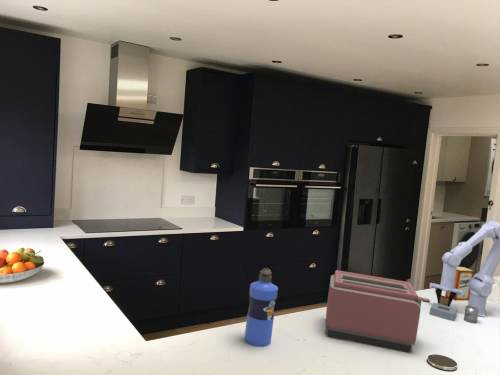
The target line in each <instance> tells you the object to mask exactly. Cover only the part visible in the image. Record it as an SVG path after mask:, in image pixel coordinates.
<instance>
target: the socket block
mask: <svg viewBox="0 0 500 375" xmlns="http://www.w3.org/2000/svg"><path fill="white" fill-rule="evenodd" d="M457 313H458V308H456V307H452V306H450V307H449V306H445V305H442V304H438V302H433V303H432V305H431V306H430V308H429V315H430V316H433V317H437V318H441V319H444V320H448V321H452V322H454V321H455V319H456V316H457Z"/></svg>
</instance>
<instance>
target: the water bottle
mask: <svg viewBox="0 0 500 375" xmlns="http://www.w3.org/2000/svg"><path fill="white" fill-rule="evenodd" d="M272 274H273V272H272V271H271V269H269V268H268V267H267V268H266V267H265V268H263V269H262V270H260V271H259V275H258V280H257V281H254V282H251V283H250V286H249V294H248V295H249V307H248V311H247V315H246V321H245V324H246V325H245V331H244V341H245V343H247V344H248V345H250V346H252V347H253V346H254V347H262V348H263V347H268V346H270V345H271V343H272V335H273V334H272V333H273V327H274V321H275V320H274V319H275V318H274V315H275V314H274V312H275V311H274V309H275V304H276V301H277V298H278V290H279V287H278V286H277V285H275V284H273V283H272V278H273V277H272Z"/></svg>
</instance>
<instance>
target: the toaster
mask: <svg viewBox="0 0 500 375" xmlns="http://www.w3.org/2000/svg"><path fill="white" fill-rule="evenodd" d="M422 303H428V304H430V303H431V300H430V299H429V298H427V297H422V296H419V295H418V294H417V292H416V290H415V288H414V287H413V285H412V283H411V282H409V281H404V280H397V279H393V278H385V277H380V276H374V275H367V274H362V273H356V272H349V271H346V270H345V271H344V270H335V271H334V274H332V275H330V280H329V288H328V295H327V303H326V310H325V311H326V313H325V314H326V315H325V324H326V325H327V329H326V336H327V337H329V338H333V339H337V340H342V341H349V342H354V343H359V344H363V345H369V346H375V347H380V348H384V349H385V348H386V349H389V350H395V351H401V352H404V353H411V352H412V348H413V345H415V343H416V340H417V335H418V330H419V323H420V317H421V308H422Z"/></svg>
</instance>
